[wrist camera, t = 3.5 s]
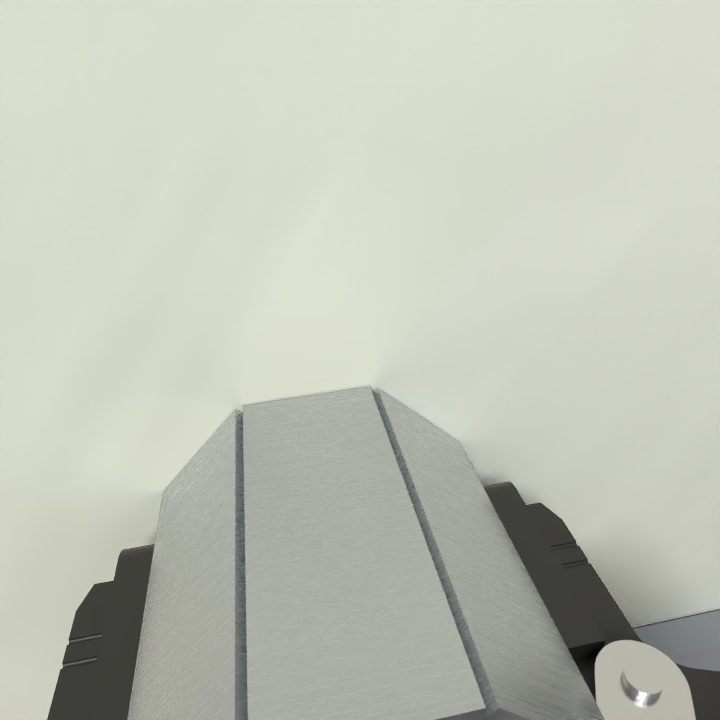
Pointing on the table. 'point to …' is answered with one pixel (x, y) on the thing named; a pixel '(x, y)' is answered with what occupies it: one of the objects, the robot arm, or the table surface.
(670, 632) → the panel
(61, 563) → the table surface
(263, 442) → the grey octagonal hollow block
